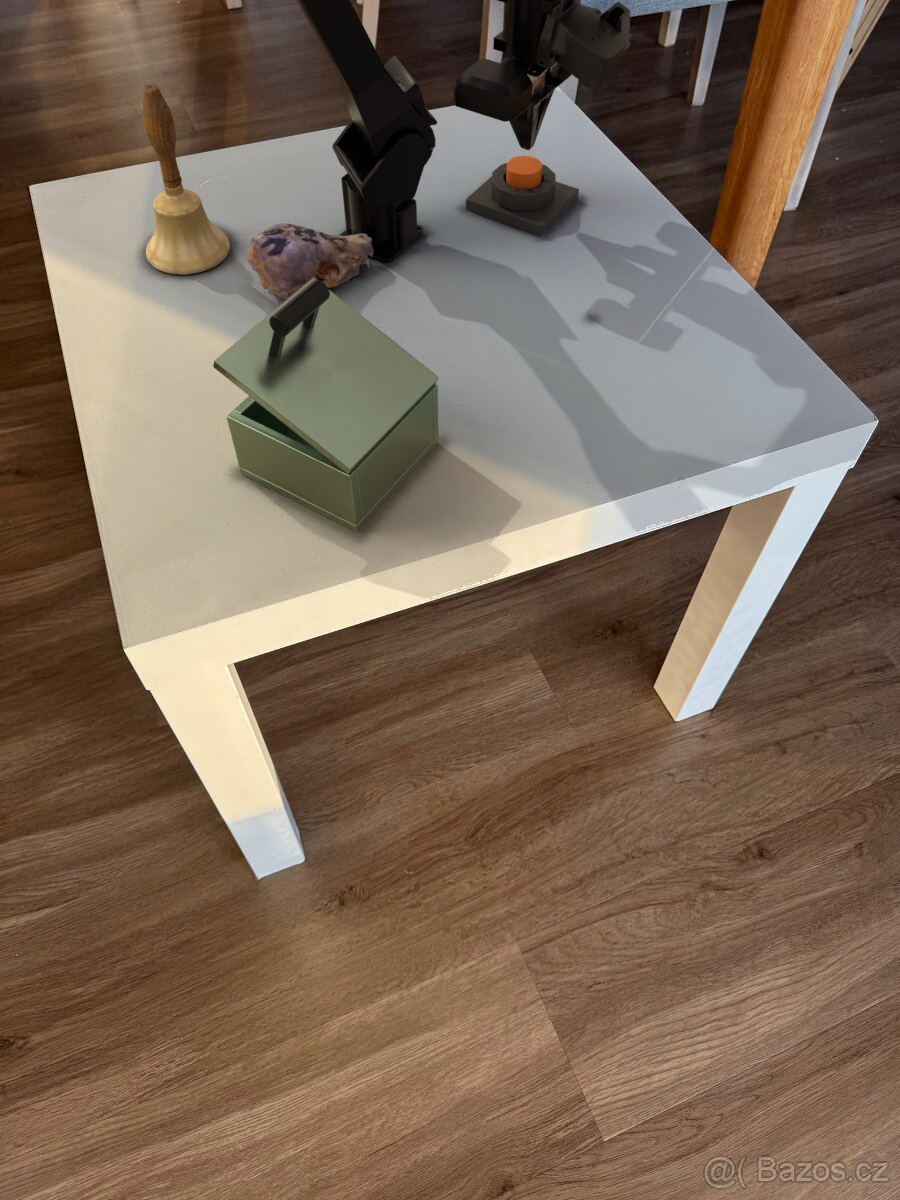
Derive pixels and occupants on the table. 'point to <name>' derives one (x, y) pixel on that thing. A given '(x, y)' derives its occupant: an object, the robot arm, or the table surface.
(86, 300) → the table surface
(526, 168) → the button
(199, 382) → the table surface
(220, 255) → the hand bell
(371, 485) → the green box
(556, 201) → the control block
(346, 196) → the robot arm
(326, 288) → the box lid
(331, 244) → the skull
